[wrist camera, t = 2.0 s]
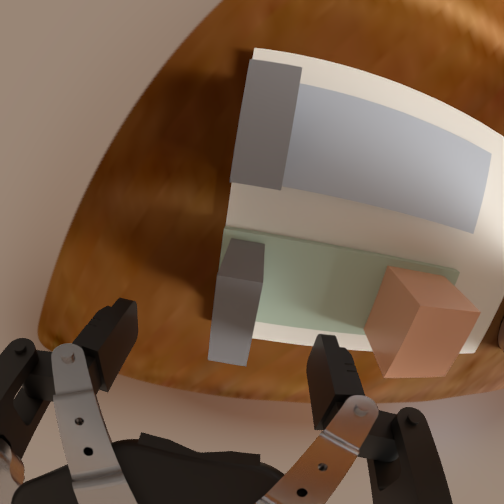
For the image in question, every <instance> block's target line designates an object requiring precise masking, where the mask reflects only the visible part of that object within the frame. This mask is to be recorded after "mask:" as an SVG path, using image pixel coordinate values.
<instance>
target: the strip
mask: <svg viewBox="0 0 504 504" xmlns="http://www.w3.org/2000/svg"><path fill="white" fill-rule="evenodd" d="M301 73H302V67H298V66H293V65H288V64H282V63H276V62H269V61H262V60H255V59H250V61H249V67H248V72H247V78H246V83H245V89H244V94H243V100H242V106H241V112H240V118H239V124H238V130H237V136H236V142H235V149H234V155H233V162H232V168H231V175H230V182H233V183H239V184H246V185H252V186H258V187H264V188H269V189H275V190H281V188H282V186H283V187H288V188H294V189H299V190H304V191H309V192H314V193H319V194H324V195H328V196H333V197H338V198H342V199H347V200H351V201H356V202H360V203H364V204H368V205H372V206H377V207H381V208H385V209H389V210H392V211H396V212H400V213H404V214H408V215H411V216H415V217H419V218H422V219H426V220H429V221H433V222H436V223H439V224H443V225H446V226H449V227H453V228H456V229H459V230H462V231H466V232H469V233H472V234H473V233H474V230H475V226H476V223H477V220H478V216H479V212H480V208H481V204H482V200H483V196H484V192H485V187H486V183H487V178H488V173H489V167H490V161H491V155H492V154H491V153H489V152H488V151H486V150H484V149H482V148H480V147H478V146H477V145H475V144H473V143H471V142H469V141H467V140H465V139H463V138H461V137H459V136H457V135H455V134H453V133H451V132H449V131H446V130H444V129H442V128H440V127H438V126H435V125H433V124H431V123H428V122H426V121H423V120H421V119H419V118H416V117H414V116H411V115H408V114H406V113H403V112H400V111H398V110H395V109H392V108H389V107H386V106H383V105H380V104H377V103H374V102H371V101H368V100H365V99H361V98H358V97H355V96H351V95H347V94H344V93H340V92H336V91H332V90H328V89H324V88H320V87H315V86H311V85H306V84H301V83H300V79H301Z"/></svg>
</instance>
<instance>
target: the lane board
mask: <svg viewBox="0 0 504 504" xmlns="http://www.w3.org/2000/svg"><path fill="white" fill-rule="evenodd" d="M252 59H255V60H262V61H269V62H276V63H282V64H288V65H293V66H298V67H302V73H301V79H300V83H301V84H306V85H311V86H315V87H320V88H324V89H328V90H332V91H336V92H340V93H344V94H347V95H351V96H355V97H358V98H361V99H365V100H368V101H371V102H374V103H377V104H380V105H383V106H386V107H389V108H392V109H395V110H398V111H400V112H403V113H406V114H408V115H411V116H414V117H416V118H419V119H421V120H423V121H426V122H428V123H431V124H433V125H435V126H438V127H440V128H442V129H444V130H446V131H449V132H451V133H453V134H455V135H457V136H459V137H461V138H463V139H465V140H467V141H469V142H471V143H473V144H475V145H477V146H478V147H480V148H482V149H484V150H486V151H488V152H489V153H491V154H492V155H491V161H490V167H489V173H488V178H487V183H486V187H485V192H484V196H483V200H482V204H481V208H480V212H479V216H478V220H477V223H476V226H475V230H474V233H473V234H472V233H469V232H466V231H462V230H459V229H456V228H453V227H449V226H446V225H443V224H439V223H436V222H433V221H429V220H426V219H422V218H419V217H415V216H411V215H408V214H404V213H400V212H396V211H392V210H389V209H385V208H381V207H377V206H372V205H368V204H364V203H360V202H356V201H351V200H347V199H342V198H338V197H333V196H328V195H324V194H319V193H314V192H309V191H304V190H299V189H294V188H288V187H283V186H282V188H281V190H275V189H269V188H264V187H258V186H252V185H246V184H239V183H233V182H232V184H231V191H230V198H229V205H228V212H227V219H226V226H230V227H236V228H242V229H248V230H253V231H259V232H265V233H271V234H277V235H283V236H288V237H294V238H299V239H305V240H311V241H316V242H322V243H327V244H332V245H338V246H343V247H349V248H354V249H359V250H364V251H370V252H375V253H380V254H385V255H390V256H395V257H400V258H405V259H410V260H415V261H420V262H425V263H430V264H434V265H439V266H444V267H449V268H453V269H457V270H458V271H459V272H460V274H459V276H458V279H457V281H456V284H455V287H456V288H457V289H458V290H459V291H460V292H461V293H462V294H463V295H464V296H465V297H466V298H467V299H469V300H470V301H471V302H472V303H473V304H474V305H475V307H476V308H477V309H478V310H479V311H480V312H481V313H480V315H479V317H478V319H477V321H476V323H475V325H474V327H473V329H472V331H471V333H470V335H469V337H468V338H467V340H466V342H465V344H464V346H463V347H462V349H461V351H460V352H459V353H475V351H476V349H477V348H478V346H479V344H480V342H481V340H482V339H483V337H484V335H485V333H486V331H487V329H488V328H489V326H490V324H491V322H492V320H493V318H494V316H495V314H496V312H497V310H498V307H499V305H500V303H501V301H502V299H503V296H504V137H503V136H502V135H500V134H499V133H497V132H495V131H494V130H492V129H491V128H489V127H487V126H486V125H484V124H482V123H481V122H479V121H477V120H476V119H474V118H472V117H470V116H468V115H467V114H465V113H463V112H461V111H459V110H457V109H455V108H453V107H451V106H449V105H447V104H445V103H443V102H441V101H439V100H437V99H435V98H433V97H430V96H428V95H426V94H424V93H421V92H419V91H417V90H414V89H412V88H409V87H407V86H404V85H402V84H399V83H397V82H394V81H391V80H389V79H386V78H383V77H380V76H377V75H374V74H371V73H368V72H365V71H362V70H358V69H355V68H352V67H348V66H345V65H341V64H337V63H333V62H329V61H325V60H321V59H317V58H312V57H308V56H303V55H298V54H292V53H287V52H281V51H275V50H268V49H260V48H254V53H253V58H252ZM318 334H327V335H335V336H336V338H337V341H338V344H339V347H345V348H346V349H347V350H360V351H372V348H371V346H370V343H369V341H368V339H367V336H366V335H358V334H348V333H338V332H329V331H321V330H312V329H304V328H297V327H289V326H282V325H275V324H269V323H262V322H256V321H255V326H254V331H253V335H252V338H255V339H262V340H268V341H275V342H283V343H290V344H298V345H307V346H313V345H314V343H315V340H316V337H317V335H318Z"/></svg>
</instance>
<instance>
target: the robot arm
mask: <svg viewBox="0 0 504 504" xmlns="http://www.w3.org/2000/svg"><path fill="white" fill-rule="evenodd" d="M137 335H138V319H137V304H136V302H135V301H132V300H128V299H124V298H119V299H118V300H117V301H116V302H115V303H114V305H113V306H112V307H110V306H106V307H104V308H103V309H101V310H99V311H98V312H97V313H96V314H95V316H94V317H93V319H91V320H90V322H89V323H88V325H86V326H85V328H84V329H83V330H82V331H81V333H80V334H79V335H78V336H77V338H76V339H75V340H74V341H73V343H72V344H62V345H60V346H58V347H56V348H55V349H54V350H53V352H48V351H39V350H36V348H35V345H34V343H33V342H32V341H31V340H29V339H26V338H19V339H16V340H14V341H12V342H11V343H10V344H9V345H8V346H7V347H6V348H5V350H4V351H3V352H2V353H1V355H0V504H325V503H326V502H327V500H328V499H329V497H330V496H331V495H332V493H333V492H334V491H335V489H336V488H337V486H338V485H339V484H340V482H341V480H342V479H343V478H344V476H345V475H346V473H347V472H348V470H349V468H350V467H351V466H352V464H353V462H354V461H355V459H356V458H357V456H358V457H363V458H367V463H368V470H369V476H370V483H371V490H372V498H373V504H453V503H452V500H451V495H450V492H449V488H448V484H447V481H446V477H445V474H444V471H443V467H442V464H441V461H440V458H439V455H438V452H437V449H436V446H435V443H434V440H433V437H432V434H431V431H430V428H429V426H428V423H427V421H426V418H425V416H424V415H423V414H422V413H421V412H420V411H419V410H417V409H415V408H412V407H405V408H403V409H401V410H400V411H399V412H398V414H392V413H388V412H384V411H380V410H379V409H378V406H377V405H376V403H375V402H374V401H373V400H372V399H370V398H368V397H366V396H365V394H364V391H363V388H362V385H361V382H360V379H359V376H358V373H357V370H356V367H355V365H354V361H353V358H352V355H351V354H350V353H349V352H348V351H347V349H346V348H345V347H339V344H338V341H337V338H336V336H335V335H327V334H318V335H317V337H316V340H315V343H314V345H313V348H312V351H311V353H310V356H309V358H308V362H307V379H308V385H309V392H310V399H311V407H312V414H313V422H314V429H315V430H324V431H322V432H321V434H320V435H319V436H318V437H317V438H316V440H315V441H314V442H313V443H312V444H311V446H310V447H309V448H308V449H307V450H306V452H305V453H304V454H303V455H302V456H301V457H300V459H299V460H298V461H297V462H296V463H295V464H294V465H293V467H291V469H290V470H289V471H288V472H287V473H286V474H285V475H284V474H283V473H282V472H280V471H279V470H277V469H276V468H274V467H272V466H270V465H267V464H265V463H261V462H260V454H249V453H240V452H233V451H227V452H207V453H206V452H205V453H200V452H196V451H193V450H191V449H189V448H186V447H184V446H182V445H180V444H178V443H175V442H173V441H171V440H168V439H164V438H161V437H157V436H153V435H149V434H146V433H141V435H140V438H139V439H127V440H121V441H116V442H113V443H112V440H111V438H110V435H109V433H108V430H107V427H106V424H105V422H104V419H103V416H102V413H101V410H100V406H99V403H98V400H97V397H96V394H97V392H98V391H99V389H100V390H102V391H105V392H108V391H109V389H110V387H111V386H112V384H113V382H114V380H115V378H116V376H117V374H118V373H119V371H120V369H121V367H122V365H123V363H124V362H125V360H126V358H127V356H128V354H129V353H130V351H131V349H132V347H133V345H134V344H135V342H136V339H137ZM498 344H499V347H500V348H501V349H502V350H503V352H504V319H503V322H502V324H501V327H500V330H499V335H498ZM21 386H22V388H21V389H20V387H21ZM19 389H20V391H19ZM18 391H19V392H18ZM17 392H18V394H17V395H16V393H17ZM15 395H16V397H15ZM14 397H15V399H14ZM51 401H53V402H54V407H55V412H56V418H57V423H58V428H59V432H60V437H61V440H62V445H63V449H64V453H65V456H66V460H67V463H68V464H67V465H65V466H62V467H60V468H58V469H56V470H54V471H51V472H49V473H46V474H44V475H42V476H39V477H37V478H34V479H31V480H29V481H26V482H25V483H23V481H24V479H25V476H24V471H25V470H24V464H23V462H22V460H21V459H22V457H23V455H24V452H25V450H26V448H27V446H28V444H29V442H30V440H31V438H32V436H33V434H34V432H35V430H36V428H37V426H38V424H39V422H40V420H41V418H42V416H43V414H44V413H45V411H46V409H47V407H48V405H49V404H50V402H51Z"/></svg>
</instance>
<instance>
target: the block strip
mask: <svg viewBox="0 0 504 504" xmlns="http://www.w3.org/2000/svg"><path fill="white" fill-rule="evenodd" d="M387 265H388V266H393V267H399V268H404V269H410V270H415V271H420V272H426V273H431V274H436V275H442V276H444V277H446V278H447V279H448V280H449V281H450V282H451V283H452V284H453V285H454V286H455V284H456V281H457V279H458V276H459V274H460V272H459V271H458V270H457V269H453V268H449V267H444V266H439V265H434V264H430V263H425V262H420V261H415V260H410V259H405V258H400V257H395V256H390V255H385V254H380V253H375V252H370V251H364V250H359V249H354V248H349V247H343V246H338V245H332V244H327V243H322V242H316V241H311V240H305V239H299V238H294V237H288V236H283V235H277V234H271V233H265V232H259V231H253V230H248V229H242V228H236V227H230V226H225V228H224V232H223V239H222V247H221V255H220V263H219V271H218V274H217V280H216V288H215V297H214V306H213V315H212V324H211V334H210V344H209V354H208V360H212V361H217V362H223V363H229V364H234V365H241V366H246V364H247V359H248V355H249V350H250V345H251V340H252V335H253V331H254V326H255V321H256V322H262V323H269V324H275V325H282V326H289V327H297V328H304V329H312V330H321V331H329V332H338V333H348V334H358V335H366V334H365V332H364V330H363V329H364V327H365V324H366V322H367V319H368V317H369V314H370V312H371V309H372V307H373V304H374V302H375V299H376V296H377V294H378V291H379V288H380V285H381V283H382V280H383V277H384V274H385V271H386V268H387Z"/></svg>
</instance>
